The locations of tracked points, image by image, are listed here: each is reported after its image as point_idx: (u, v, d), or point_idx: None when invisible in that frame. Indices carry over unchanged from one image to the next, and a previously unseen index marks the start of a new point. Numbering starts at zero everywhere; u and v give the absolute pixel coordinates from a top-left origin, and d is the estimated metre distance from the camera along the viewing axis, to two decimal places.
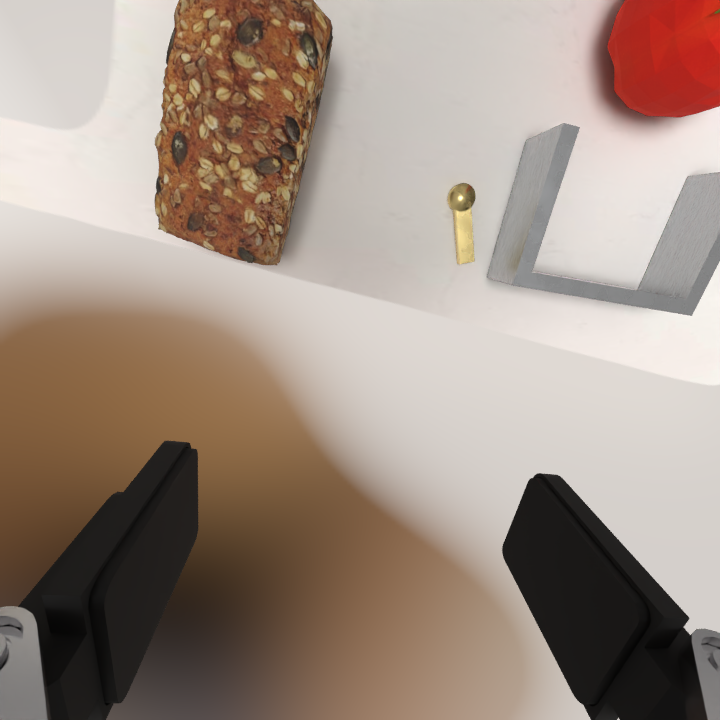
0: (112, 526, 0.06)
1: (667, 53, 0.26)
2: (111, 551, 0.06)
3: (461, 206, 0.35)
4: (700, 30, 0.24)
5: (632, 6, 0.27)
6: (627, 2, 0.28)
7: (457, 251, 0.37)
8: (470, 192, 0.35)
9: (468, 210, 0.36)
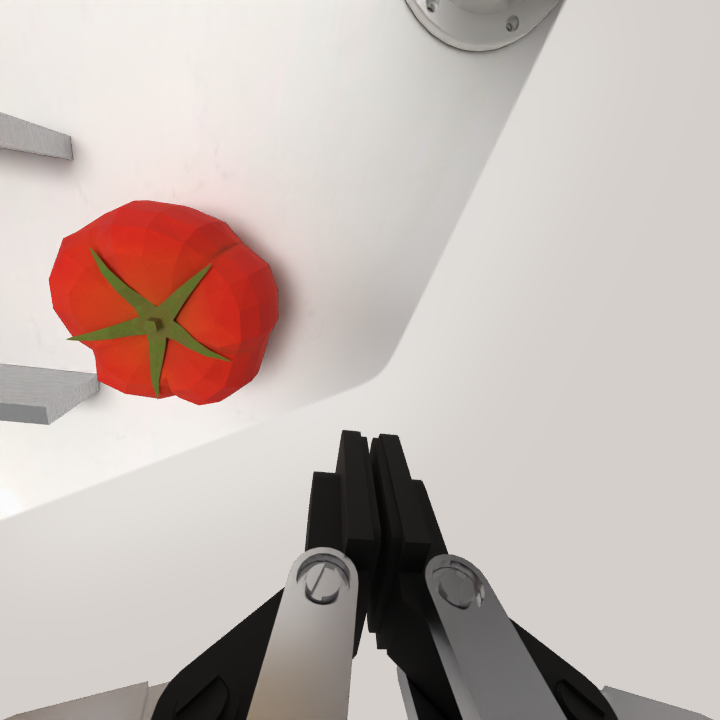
0: (356, 493, 0.08)
1: (84, 229, 0.20)
2: (370, 510, 0.07)
3: None
4: (81, 243, 0.19)
5: None
6: None
7: None
8: None
9: None
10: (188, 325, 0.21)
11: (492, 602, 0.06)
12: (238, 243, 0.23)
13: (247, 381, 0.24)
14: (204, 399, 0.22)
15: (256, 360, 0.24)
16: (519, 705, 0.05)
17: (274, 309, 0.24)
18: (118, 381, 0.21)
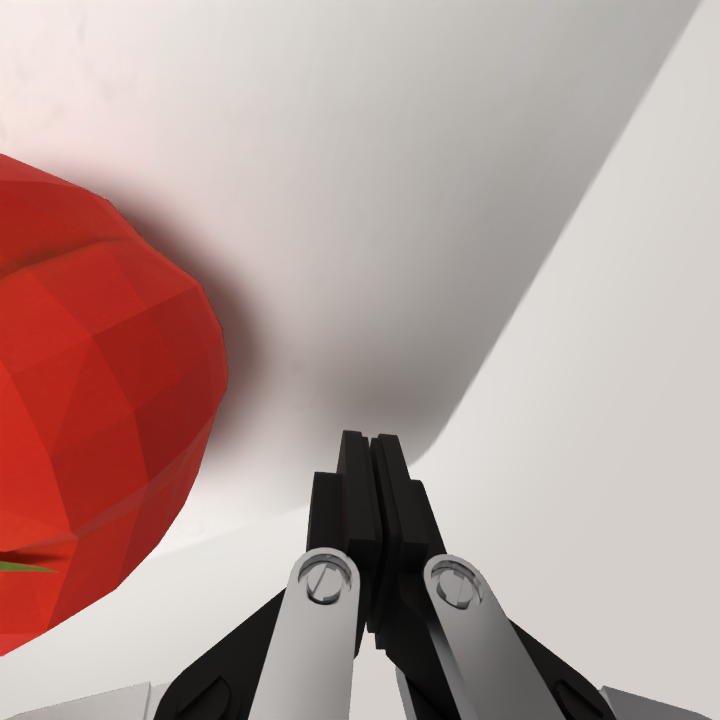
0: (358, 493, 0.08)
1: None
2: (372, 510, 0.07)
3: None
4: None
5: None
6: None
7: None
8: None
9: None
10: None
11: (490, 602, 0.06)
12: (108, 239, 0.10)
13: (142, 558, 0.10)
14: (0, 655, 0.08)
15: (165, 505, 0.11)
16: (517, 706, 0.05)
17: (204, 391, 0.11)
18: None
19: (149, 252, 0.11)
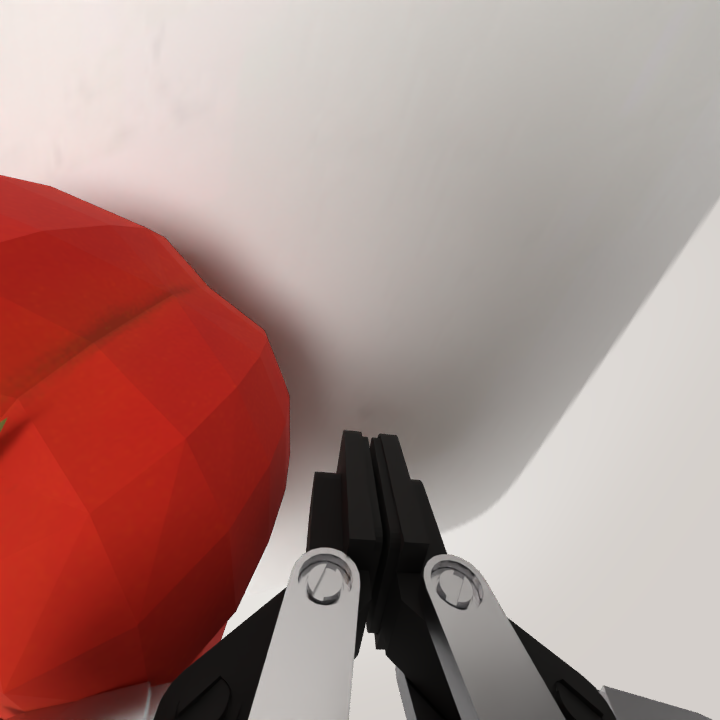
0: (358, 493, 0.08)
1: None
2: (372, 511, 0.07)
3: None
4: None
5: None
6: (46, 185, 0.08)
7: None
8: None
9: None
10: None
11: (490, 602, 0.06)
12: (178, 291, 0.08)
13: None
14: None
15: None
16: (517, 706, 0.05)
17: (281, 468, 0.09)
18: None
19: (217, 301, 0.09)
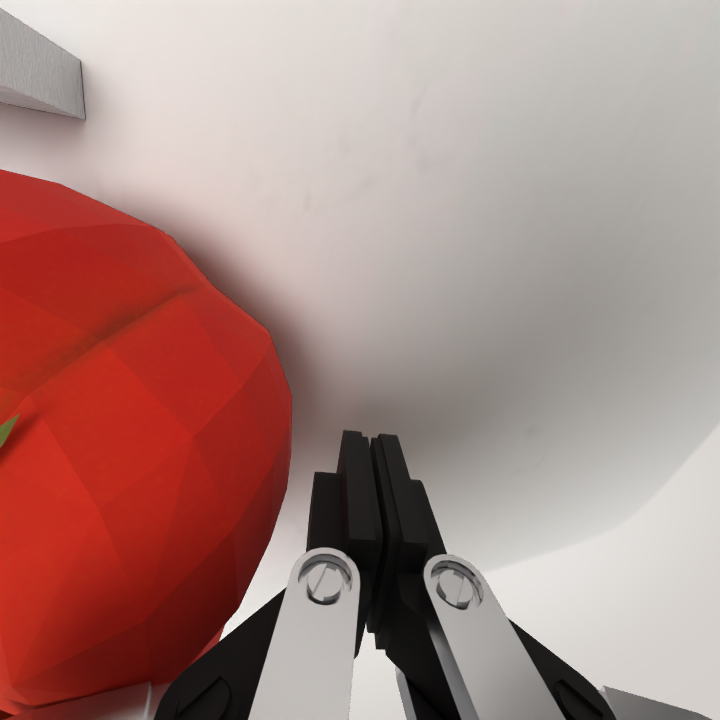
0: (358, 493, 0.08)
1: None
2: (372, 511, 0.07)
3: None
4: None
5: None
6: (55, 183, 0.08)
7: None
8: None
9: None
10: None
11: (490, 602, 0.06)
12: (184, 290, 0.08)
13: None
14: None
15: None
16: (517, 705, 0.05)
17: (283, 468, 0.09)
18: None
19: (222, 300, 0.09)
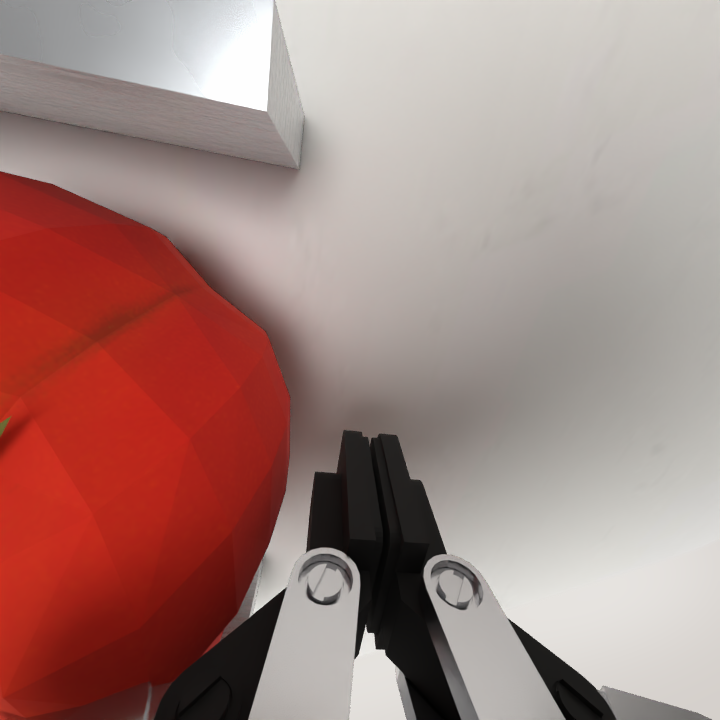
0: (358, 493, 0.08)
1: None
2: (372, 511, 0.07)
3: None
4: None
5: None
6: (48, 183, 0.08)
7: None
8: None
9: None
10: None
11: (490, 602, 0.06)
12: (180, 290, 0.08)
13: None
14: None
15: None
16: (517, 706, 0.05)
17: (282, 470, 0.09)
18: None
19: (219, 301, 0.09)
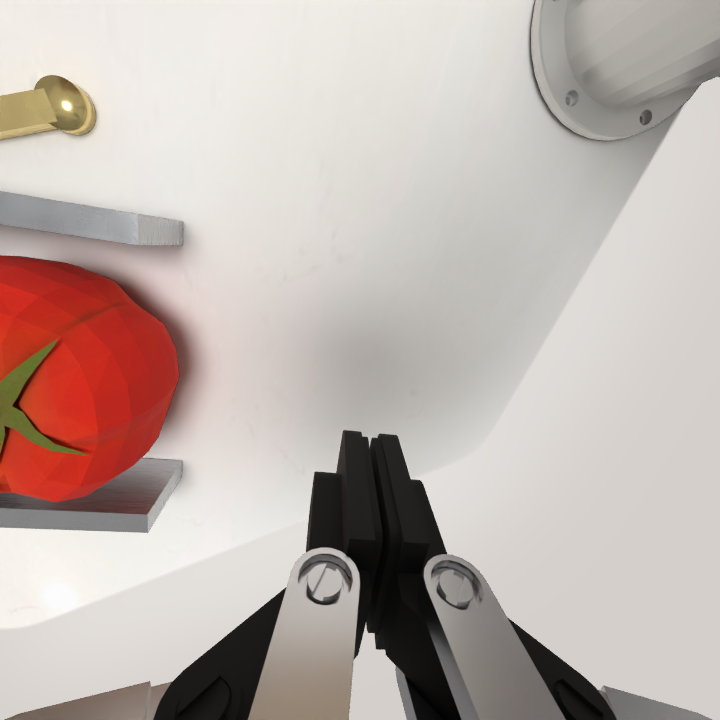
0: (358, 493, 0.08)
1: None
2: (372, 511, 0.07)
3: (44, 101, 0.19)
4: None
5: (38, 260, 0.19)
6: None
7: None
8: (72, 117, 0.20)
9: (40, 117, 0.20)
10: (30, 413, 0.16)
11: (491, 602, 0.06)
12: (116, 304, 0.20)
13: (124, 468, 0.20)
14: (55, 501, 0.17)
15: (138, 442, 0.20)
16: (517, 706, 0.05)
17: (162, 381, 0.20)
18: None
19: (136, 309, 0.21)
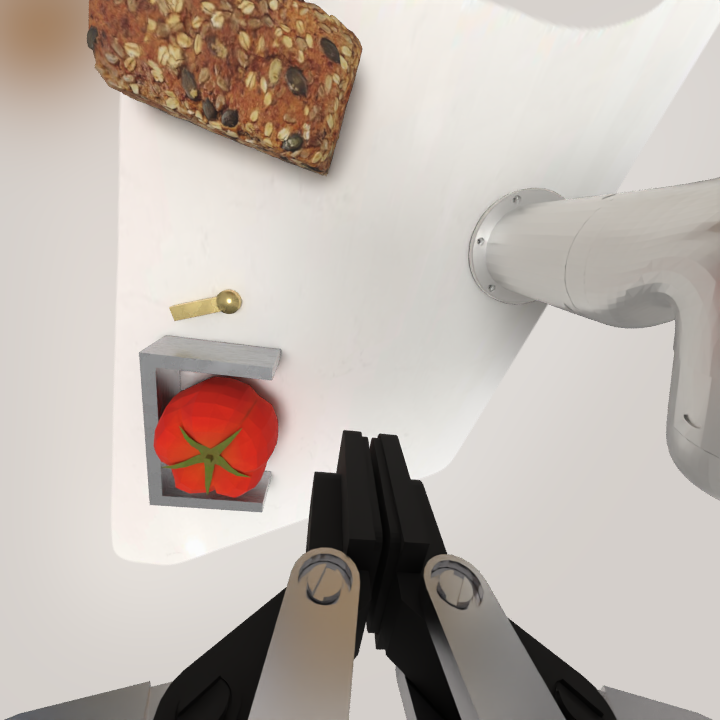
0: (358, 493, 0.08)
1: (172, 408, 0.36)
2: (372, 511, 0.07)
3: (220, 302, 0.39)
4: (174, 422, 0.35)
5: (220, 382, 0.39)
6: (229, 380, 0.40)
7: (182, 304, 0.39)
8: (233, 308, 0.40)
9: (217, 309, 0.39)
10: (227, 459, 0.37)
11: (491, 602, 0.06)
12: (255, 402, 0.40)
13: (258, 481, 0.40)
14: (235, 497, 0.38)
15: (264, 468, 0.41)
16: (517, 706, 0.05)
17: (275, 437, 0.41)
18: (187, 488, 0.37)
19: (261, 401, 0.41)
